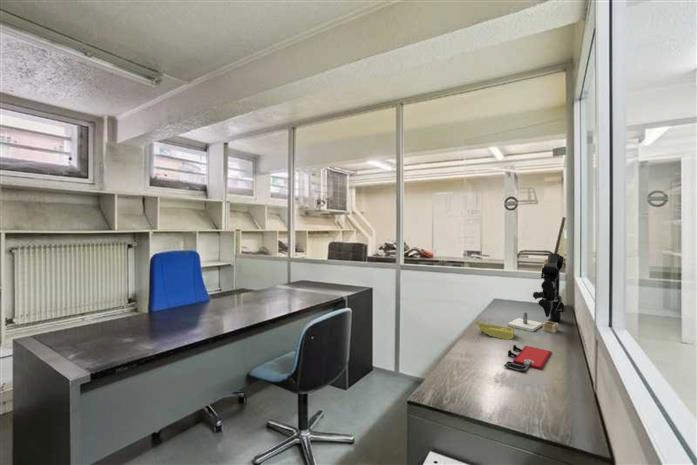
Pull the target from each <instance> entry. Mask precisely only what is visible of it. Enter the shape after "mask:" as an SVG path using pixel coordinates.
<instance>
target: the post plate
mask: <svg viewBox="0 0 697 465" xmlns="http://www.w3.org/2000/svg"><path fill="white" fill-rule="evenodd" d="M543 323H544V322H539V321H535V320H530V319H528V313H527V312H526V311H524V312H523V313H522V318H520V317H518V318H516V319H514V320H511V321H510V322H508V323H507V327H509V328H510V327H511V328H513V327H514V329H515V328H516V329H519V330H523V331H527V332H535V331H537V330H538V329H539V328H541V327H543Z"/></svg>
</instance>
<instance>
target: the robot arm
mask: <svg viewBox="0 0 697 465" xmlns="http://www.w3.org/2000/svg"><path fill="white" fill-rule="evenodd" d="M564 266H565V258H564V256H562V255H560V253H552V252H551V253H549V255H548V256H547V263H546V264H544V265H543V266H542V267H541V275H540V279H543V281H542V282H541V289H542V290H541V291H534V292H533V293H532V297H533V298H534V300H538V299H539V300H538V302H537V303H538V306H539V307H541V308H542V309H543V311H544V315H545V317H546V318H548V319H547V321H549V322H554V323H561V322H563V321H564V319H562V313H565V312H566V310H565V304H564V302H563V298H562V296H561V295H560V287H561V286H560V285H561V284H560V281H561V280H560V279H561V277H560V276H561V274H560V273H561V270H562V269H563V268H564Z"/></svg>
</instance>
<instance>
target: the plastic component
mask: <svg viewBox="0 0 697 465" xmlns="http://www.w3.org/2000/svg"><path fill="white" fill-rule="evenodd" d="M475 323H476V325H477V326H478V327H479V331H480V333H484V334H486V335H488V336H490V337H492V338H498V339H504V340H512V339H513V338H514V337H515V335H514V334H515V328H514V327H511V328H510V327H506V326H498V325H493V324H489V323H483V322H480V321H478V320H476V319H475Z"/></svg>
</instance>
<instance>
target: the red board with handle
mask: <svg viewBox="0 0 697 465" xmlns="http://www.w3.org/2000/svg"><path fill="white" fill-rule="evenodd" d="M512 350H513V352H512ZM516 351H518V352H519V353H518V354H516V353H514V352H516ZM551 354H552V351H551V350H547V349H541V348H537V347H532V346H528V345H525V346H524V347H523V348H519V347H517V345H516V344H513V346H512V349H511V350H510V349H509V350H508V351H507V357H510V358H511V357H514V359H513V360H512V361H506V363H505V364H504V365H503V367H506V368H510V369H513V370H517V371H521V372H526V371H527V369H529V368H532V369H536V370H540V371H541V370H542V369H544V367H545V364H546V363H547V361H548V359H549V357H550V356H551Z"/></svg>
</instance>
